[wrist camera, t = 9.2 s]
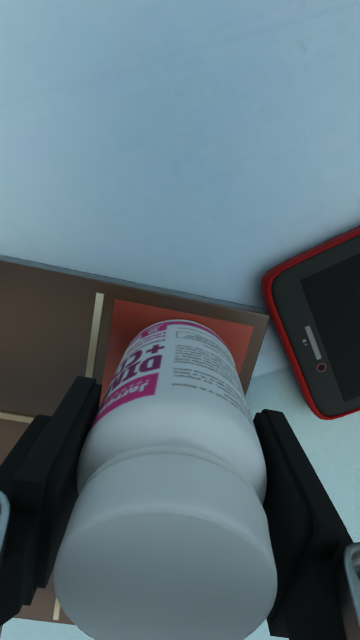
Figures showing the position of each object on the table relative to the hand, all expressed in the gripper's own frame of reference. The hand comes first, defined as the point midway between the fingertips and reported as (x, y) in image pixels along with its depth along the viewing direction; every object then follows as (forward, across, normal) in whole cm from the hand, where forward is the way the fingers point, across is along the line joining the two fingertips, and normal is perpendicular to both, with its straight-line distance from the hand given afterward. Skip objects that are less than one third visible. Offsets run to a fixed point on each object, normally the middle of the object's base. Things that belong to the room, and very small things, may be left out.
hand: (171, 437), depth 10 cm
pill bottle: (+4, 0, 0) cm, 4 cm away
